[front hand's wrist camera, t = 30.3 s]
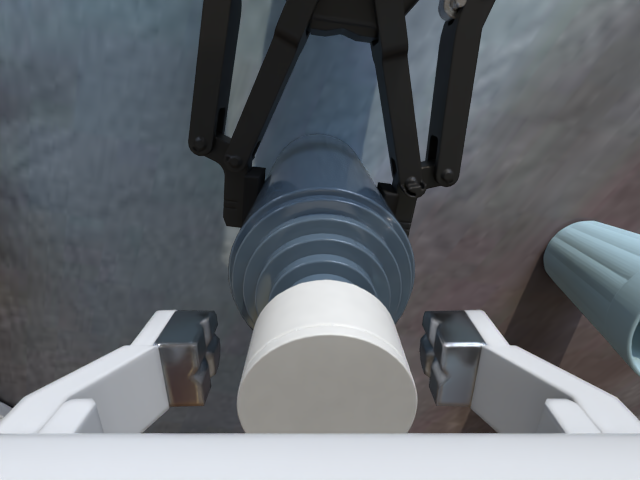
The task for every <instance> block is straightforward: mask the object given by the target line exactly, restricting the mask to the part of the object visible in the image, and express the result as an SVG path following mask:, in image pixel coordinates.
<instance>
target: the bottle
mask: <svg viewBox="0 0 640 480" xmlns="http://www.w3.org/2000/svg"><path fill="white" fill-rule="evenodd" d="M228 277H229V284H230V290H231V293H232V296H233V299H234V301H235V303H236V305H237V307H238V309H239V311H240V313H241V315H242V317H243V318H244V320H245V321H246V323H247V324H248V326H249V327H250V328H251V329H252V330H254V326H255V323H256V321H257V319H258V317H259V315H260V313H261V312H262V310H263V309H264V308H265V306H266V305H267V304H268V303H269V302H270V301H271V300H272V299H273V298H274V297H275V296H277V295H278V294H280V293H282V292H283V291H285V290H287V289H289V288H291V287H293V286H296V285H298V284H301V283H305V282H310V281H316V280H334V281H341V282H346V283H349V284H354V285H356V286H358V287H360V288H362V289H364V290H366V291H367V292H369V293H371V294H372V295H373V296H375V297H376V298H377V299H378V300H379V301H380V302H381V303H382V304H383V305H384V306H385V307H386V309H387V310H388V312H389V313H390V315H391V317H392V319H393V321H394V324H396V323H397V321H398V320H399V318H400V317H401V315H402V314H403V312H404V310H405V307H406V305H407V303H408V300H409V298H410V295H411V292H412V289H413V284H414V278H415V262H414V255H413V251H412V247H411V244H410V242H409V239H408V237H407V235H406V233H405V231H404V230H403V228H402V227H401V225H400V223H399V222H398V220H397V219H396V217H395V215H394V214H393V212H392V211H391V209H390V207H389V206H388V204H387V203H386V201H385V200H384V198H383V196H382V195H381V193H380V192H379V190H378V188H377V187H376V185H375V184H374V182H373V180H372V179H371V177H370V176H369V174H368V172H367V171H366V169H365V168H364V166H363V164H362V163H361V161H360V160H359V158H358V157H357V155H356V153H355V152H354V151H353V150H352V149H351V148H350V147H349V146H348V145H347V144H346V143H344V142H343V141H341V140H339V139H337V138H335V137H332V136H329V135H324V134H312V135H307V136H303V137H301V138H298V139H296V140H294V141H293V142H291V143H290V144H288V145H287V146H286V147H285V148H284V149H283V151H282V152H281V153H280V154H279V156H278V158H277V159H276V161H275V163H274V165H273V167H272V169H271V171H270V173H269V175H268V177H267V179H266V181H265V183H264V184H263V186H262V188H261V190H260V192H259V194H258V196H257V198H256V200H255V202H254V204H253V206H252V208H251V210H250V211H249V213H248V215H247V217H246V219H245V221H244V223H243V225H242V227H241V229H240V231H239V233H238V235H237V237H236V239H235V241H234V244H233V246H232V249H231V253H230V257H229V265H228Z"/></svg>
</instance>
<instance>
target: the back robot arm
mask: <svg viewBox="0 0 640 480" xmlns="http://www.w3.org/2000/svg"><path fill="white" fill-rule="evenodd" d="M418 1H419V0H286V4H285V6H284V8H283V11H282V13H281V16H280V18H279V21H278V23H277V26H276V29H275V33H274V37H273V40H272V42H271V44H270V47H269V49H268V52H267V54H266V56H265V59H264V61H263V64H262V66H261V68H260V71H259V73H258V76H257V78H256V81H255V83H254V85H253V88H252V90H251V93H250V95H249V97H248V100H247V102H246V105H245V107H244V109H243V112H242V114H241V117H240V119H239V122H238V124H237V126H236V129H235V131H234V134H233V136H232V138H229V137H228V136H226V135H224V131H225V124H226V117H227V110H228V103H229V96H230V89H231V81H232V74H233V67H234V60H235V53H236V46H237V39H238V32H239V25H240V18H241V7H242V1H241V0H204V1H203V10H202V20H201V29H200V38H199V47H198V57H197V66H196V75H195V84H194V94H193V103H192V112H191V121H190V131H189V140H188V143H189V148H190V150H191V151H192V152H193V153H194V154H196V155H198V156H205V157H207V158H210V159H212V160H214V161H216V162H217V163H219V164H220V165H221V167H222V168H223V170H224V174H225V184H224V211H223V218H224V220H225V223H226V226H231V227H240V228H241V227H242V225H243V223H244V221H245V219H246V217H247V215H248V213H249V211H250V210H251V208H252V206H253V204H254V202H255V200H256V198H257V196H258V194H259V192H260V190H261V188H262V186H263V184H264V183H265V170H266V168H261V167H252V160H253V159H254V158H255V154H256V152H257V149H258V147H259V145H260V143H261V140H262V138H263V136H264V133H265V131H266V129H267V127H268V124H269V122H270V120H271V118H272V115H273V113H274V111H275V109H276V106H277V104H278V102H279V100H280V97H281V95H282V93H283V91H284V88H285V86H286V84H287V82H288V79H289V77H290V75H291V73H292V70H293V68H294V66H295V64H296V61H297V59H298V57H299V55H300V53H301V51H302V49H303V47H304V45H305V43H306V41H307V39H308V36H309V34H310V33H311V34H312V35H319V36H332V35H338V34H342V35H344V36H346V37H348V38H351V39H353V40H355V41H360V42H367V43H370V44H371V50H372V56H373V61H374V63H375V68H376V74H377V80H378V87H379V93H380V100H381V106H382V113H383V119H384V126H385V132H386V138H387V145H388V151H389V158H390V164H391V171H392V177H393V182H392V185H391V184H387V183H380V182H378V186H377V188H378V190H379V192H380V193H381V195H382V196H383V198H384V200H385V201H386V203H387V204H388V206H389V207H390V209H391V211H392V212H393V214H394V215H395V217H396V219H397V220H398V222H399V223H400V225H401V227H402V228H403V230H404V231H405V233H406V235H407V237H408V235H409V231H410V226H411V222H412V218H413V213H414V209H415V204H416V200H417V198H418V197H421V196H422V195H423V194H424V193H425V191H426V189H428V188H433V187H437V186H444V187H449V186H452V185H454V184H455V183H456V182H457V180H458V178H459V173H460V167H461V160H462V154H463V147H464V141H465V135H466V128H467V122H468V115H469V109H470V103H471V96H472V90H473V83H474V77H475V70H476V64H477V58H478V51H479V45H480V38H481V32H482V27H483V25H484V23H485V21H486V19H487V17H488V15H489V13H490V11H491V9H492V6H493V4H494V2H495V0H440V1H439V6H438V12H439V15H440V17H441V18H442V19H444V20H445V24H444V27H443V30H442V34H441V38H440V44H439V52H438V60H437V68H436V77H435V85H434V93H433V101H432V110H431V118H430V126H429V134H428V143H427V151H426V159H425V161H423V162H421V161H420V153H419V145H418V137H417V129H416V122H415V114H414V106H413V98H412V90H411V82H410V74H409V66H408V57H407V54H408V38H407V30H406V22H405V15H406V14H407V13H408V12H409V11H410V10H411V9H412V8H413V6H414V5H415V4H416V3H417V2H418Z"/></svg>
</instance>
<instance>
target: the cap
mask: <svg viewBox="0 0 640 480" xmlns="http://www.w3.org/2000/svg"><path fill="white" fill-rule="evenodd" d="M416 410H417V391H416V387H415V383H414V380H413V377H412V374H411V372H410V368H409V365H408V363H407V360H406V357H405V354H404V351H403V348H402V345H401V342H400V339H399V336H398V333H397V330H396V327H395V324H394V321H393V319H392V317H391V315H390V313H389V312H388V310H387V309H386V307H385V306H384V305H383V304H382V303H381V302H380V301H379V300H378V299H377V298H376V297H375V296H373V295H372V294H371V293H369V292H367V291H366V290H364V289H362V288H360V287H358V286H356V285H354V284H349V283H346V282H341V281H334V280H316V281H310V282H305V283H301V284H298V285H296V286H293V287H291V288H289V289H287V290H285V291H283V292H282V293H280V294H278V295H277V296H275V297H274V298H273V299H272V300H271V301H270V302H269V303H268V304H267V305H266V306H265V308H264V309H263V310H262V312H261V313H260V315H259V317H258V319H257V321H256V323H255V326H254V330H253V334H252V338H251V342H250V346H249V350H248V354H247V358H246V362H245V366H244V370H243V374H242V378H241V382H240V386H239V390H238V395H237V412H238V417H239V420H240V423H241V426H242V428H243V430H244V432H245V433H407V432H408V431H409V429H410V427H411V425H412V423H413V421H414V418H415V414H416Z"/></svg>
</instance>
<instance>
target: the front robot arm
mask: <svg viewBox="0 0 640 480" xmlns="http://www.w3.org/2000/svg"><path fill="white" fill-rule="evenodd" d="M422 325H423V328H424V330H425V335H424V336H423V337H422V338H421V340H420V361H421V365H422V369H423V372H424V374H425V375H427V376H428V377H429V378H430V381H429V388H430V391H431V393H432V396H433V398H434V401H435V404H436V406H464V407H471V409H472V410H473V411H474V412H475V413H476V414H477V415H478V416H480V417H481V418H482V419H483V420H484V421H485V422H486V423H487V424H488V425H490V426H491V427H492V428H493V429H494V430H495V431H496V432H497V433H143V432H144V431H145V430H146V429H147V428H148V427H149V426H151V425H152V424H153V423H154V422H155V421H156V420H157V419H158V418H160V417H161V416H162V415H163V414H164V413H165V412H166V411H167V410H168V409H169V407H176V406H204V404H205V401H206V399H207V396H208V393H209V391H210V388H211V380H210V378H211V377H212V376H213V375H215V374H216V372H217V369H218V366H219V360H220V339H219V338H218V337H217V336H216V335H215V330H216V328H217V326H218V323H217V316H216V313H215V312H214V311H196V310H178V311H177V310H159V311H156V312H155V313H154V315H153V316H152V317H151V319H150V320H149V321H148V323H147V324H146V325H145V326H144V328H143V329H142V330H141V332H140V333H139V334H138V336H137V337H136V338H135V340H134V341H133V342H132V344H131V345H130V346H122V347H120V348H118V349H116V350H115V351H113V352H111V353H109V354H107V355H105V356H103V357H101V358H99V359H97V360H95V361H93V362H91V363H89V364H87V365H85V366H83V367H81V368H79V369H77V370H76V371H74V372H72V373H70V374H68V375H66V376H64V377H62V378H60V379H58V380H56V381H54V382H52V383H50V384H48V385H46V386H44V387H42V388H40V389H38V390H37V391H35V392H33V393H31V394H29V395H27V396H25V397H23V398H22V399H21V400H20V401H19V403H18V404H17V405H16V406H15V407H14V408H11V407H9V406H8V405H6V404H4V403H2V402H0V480H640V421H639V420H638V419H637V418H636V417H635V416H634V415H633V414H632V413H631V412H630V410H629V409H628V408H627V407H626V406H625V405H624V404H623V403H622V402H621V401H620V400H619V399H618V398H617V397H615V396H613V395H611V394H609V393H607V392H605V391H603V390H601V389H599V388H597V387H595V386H594V385H592V384H590V383H588V382H586V381H584V380H582V379H580V378H578V377H576V376H574V375H572V374H570V373H568V372H566V371H564V370H562V369H560V368H559V367H557V366H555V365H553V364H551V363H549V362H547V361H545V360H543V359H541V358H539V357H537V356H535V355H533V354H531V353H529V352H527V351H525V350H524V349H522V348H520V347H518V346H510V345H509V344H508V342H507V341H506V340H505V338H504V337H503V336H502V334H501V333H500V332H499V331H498V329H497V328H496V327H495V325H494V324H493V323H492V321H491V320H490V319H489V317H488V316H487V315H486V313H485V312H484V311H482V310H461V311H425V313H424V316H423V323H422Z"/></svg>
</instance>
